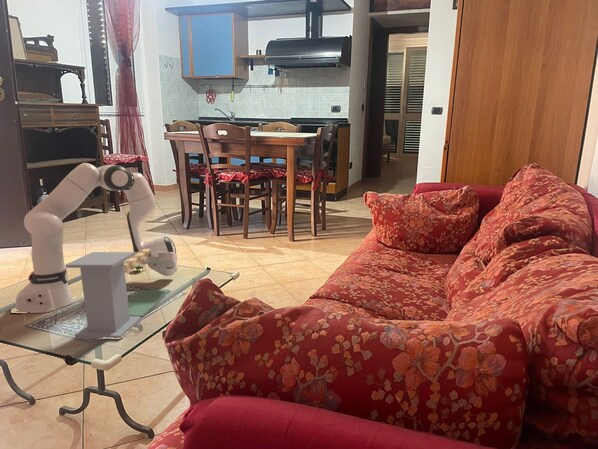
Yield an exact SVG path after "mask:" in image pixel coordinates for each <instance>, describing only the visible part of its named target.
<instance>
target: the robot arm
mask: <svg viewBox="0 0 598 449" xmlns="http://www.w3.org/2000/svg"><path fill="white" fill-rule="evenodd" d="M97 187H99V188H101V189H104V190H105V189H106V190H108V191H112V192H113V191H115V192H118V191H119V192H122V191H123V193H124V194H125V195H126V199H127V201H128V205H129V211H128V212H127V214H126V221H127V227H128V231H129V234H130V235H129V237H130V239H131V243H132V244H131V245H132V249H133V250H132V252H135V255H136V254H137V253H139V252H140V251H142V250H143V249H151V251H149V256H151V257H149V258H148V259H147V260H145V261H144V262H142V263H141V264H144V265H147V266H148V268H150V269H151V270H153V271H154V272H156V273H158V274H160V275H162V276H165V277H171V276H173V275H176V274H175V273H177V272H178V268H179V267H178V254H177V249H176V246H175V243H174V241H173V240H172V239H171V238H170V237H168V236H161V237H157V238H154V239H152V240H148V241H143V238H142V237H143V236H142V234H141V233H142V232H141V228H140V223H141V222H142V221H143V220H145V219H146V218H147V217H148V216H149V215H150V214H152V212H154V210H155V207H156V205H157V204H156V203H157V202H156V198H155V195H154V193H153V190H152V188H151V186H150V185H149V182H148V180H147V179H146V178H145V177H144V175H143V174H142V173H140V172H130V171H129V170H128V169H127V168H125V167H124V166H122V165H117V164H102V165H100V166H97V167H96V166H95V165H93V164H91V163H88V162H83V163H81V164H79V165H77V166H76V167H74V168H73V169H72V170H71V171H70V172H69V173H68V174H67V175H65V177H64V178H63V179H62V180H61V181H60V182H59V184H58V185H57V186H56V187H55V188H54V189H53V190H52V191H51V192H50V193H49V194H48V195H47V196H46V197H44V199H42V200H41V201H40V202H39V203H37V205H35V206H33V208H32V209H31V210H30V211H28V212H27V213H26V215H25V216H24V220H23V225H24V228H25V230H26V231H27V232H28V233H30V236H31V253H30V254H31V255H30V256H31V261H32V262H31V263H32V269H33V270H32V272H30V274H29V276H28V277H27V278H28V281H29V283H28V284H27V285H25V286H24V287H23V288H22V289H21V290H20V291H18V293H17V294H16V297H15V304H16V309H17V310H18V311H16V312H30V313H29V314H39V313H41V314H42V313H50V312H53V311H55V310H58V309H62V308H65V307H68V306H69V305H71V304H73V303H74V301H75V300H74V298H73V295H72V293H71V291H70V287H69V283H68V282H69V278H68V271H67V268H66V264H65V259H64V252H63V249H64V248H63V247H64V246H63V245H64V223H63V220H64V219H65V218H66V217H68V216H69V215H70V214H72V213H73V212H75V211H76V210H77V209H78V207H80V206H81V204H82V203H83V202H84V201H85V200H86V198H87V197H88V196H89V195H90V194H91V193H92V191H93V190H95V188H97ZM132 257H133V256H132ZM129 259H130V258H129Z"/></svg>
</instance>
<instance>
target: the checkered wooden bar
mask: <svg viewBox="0 0 598 449" xmlns="http://www.w3.org/2000/svg"><path fill="white" fill-rule="evenodd" d="M149 251H151V249H143V250H142V251H140V252H139V253H137V254H136V255H134V256H133V257H131V258H130V259H127V260H125V261H124V270H125V274H127V273H130V272H131V271H133V269H134V270H135V267H137V266H138V265H139V264H141V263H142V262H144V261H145V260H147V259H148V258H149V257H151V256H149Z"/></svg>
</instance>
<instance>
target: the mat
mask: <svg viewBox="0 0 598 449" xmlns="http://www.w3.org/2000/svg"><path fill="white" fill-rule="evenodd" d="M169 293H171V290H170V289H164V290H163V289H139V290H137V291H136V292H135V293H134V294H132V295H131V296H130V297H127V298H128V308H129V316H143V315H144V314H145V313H146V314H148V313H149V312H150V311H151V310H152V309H153V308H154V307H155V306H157V304H158V303H160V302H161V301H162V300H163V299H164V298H165V297H166V296H167V295H168V294H169ZM150 309H151V310H150ZM149 310H150V311H149ZM148 311H149V312H148ZM147 312H148V313H147ZM146 314H145V315H146ZM145 315H144V316H145ZM144 316H143V317H144Z"/></svg>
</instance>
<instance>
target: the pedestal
mask: <svg viewBox="0 0 598 449" xmlns="http://www.w3.org/2000/svg"><path fill="white" fill-rule="evenodd" d="M134 255H135V252H134V251H115V252H114V251H103V252H101V251H92V252H90V253H88V254H85V255H83V256H81V257H79V258H77V259H75V260H73V261H70V262H69V263H67V264H65V268H66V269H74V268H75V269H79V268H80V276H81V277H80V278H81V283H82V293H83V300H84V307H85V308H84V309H85V316H86V322H87V325H86V326H85V327H83V328H82V329H80V331H78V332H77V333H75V334H74V338H75V340H99V339H98V338H103V337H113V338H118V337H119V338H121V337H122V336H123V335H124V334H125V333H126V332H127V331H129V330H130V329H131V328H132V327H133V326H135V325H136V324H137V323H138V324H140V323H141V322H142V321H143V320H142V318H143V317H140V316H129V308H128V298H129V297H128V291H127V283H126V282H127V281H126V273H125V270H124V262H125V261H126V260H128V259H129V258H131V257H132V256H134ZM141 320H142V321H141ZM138 324H137V325H138ZM137 325H136V326H137ZM136 326H135V327H136Z"/></svg>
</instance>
